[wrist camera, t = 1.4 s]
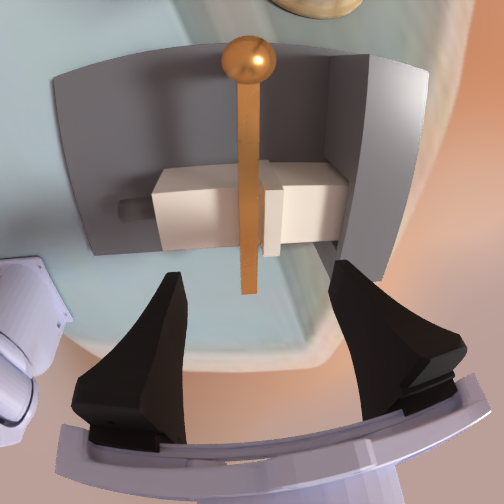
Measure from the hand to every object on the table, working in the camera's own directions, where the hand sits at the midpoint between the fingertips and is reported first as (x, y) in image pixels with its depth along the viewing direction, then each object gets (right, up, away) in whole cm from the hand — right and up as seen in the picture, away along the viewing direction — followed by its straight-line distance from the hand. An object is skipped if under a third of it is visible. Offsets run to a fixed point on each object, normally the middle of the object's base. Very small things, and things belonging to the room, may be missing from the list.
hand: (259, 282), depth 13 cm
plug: (-1, +6, +7) cm, 9 cm away
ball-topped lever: (-1, +5, +2) cm, 6 cm away
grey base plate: (-2, +8, +6) cm, 10 cm away
